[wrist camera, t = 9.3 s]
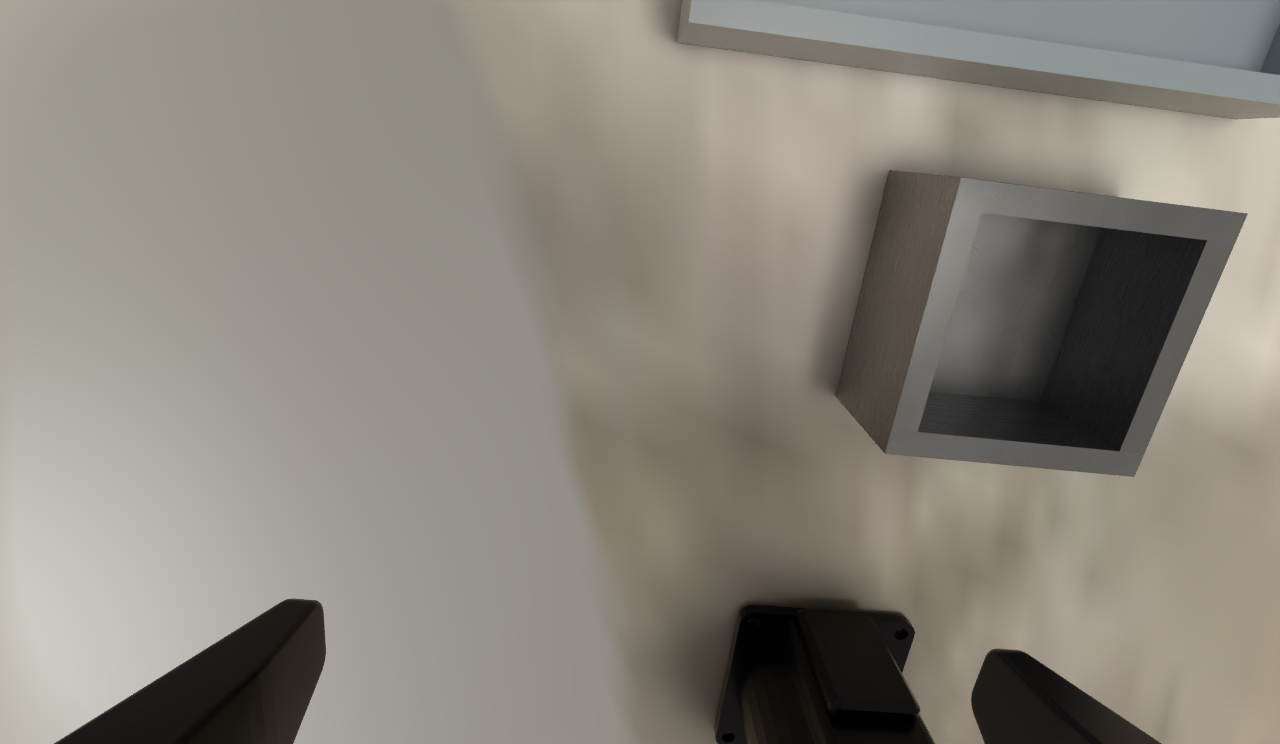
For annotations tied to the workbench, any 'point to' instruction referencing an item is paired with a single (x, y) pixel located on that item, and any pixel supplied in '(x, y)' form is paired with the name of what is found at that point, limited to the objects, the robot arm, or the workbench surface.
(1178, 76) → the tray
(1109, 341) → the box
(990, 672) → the robot arm
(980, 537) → the workbench surface
